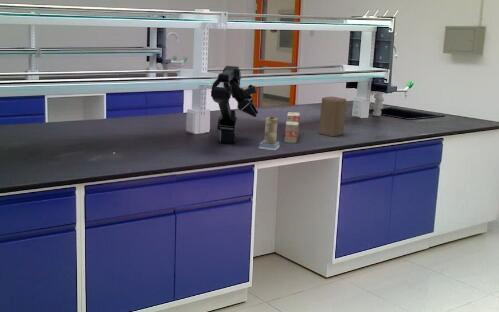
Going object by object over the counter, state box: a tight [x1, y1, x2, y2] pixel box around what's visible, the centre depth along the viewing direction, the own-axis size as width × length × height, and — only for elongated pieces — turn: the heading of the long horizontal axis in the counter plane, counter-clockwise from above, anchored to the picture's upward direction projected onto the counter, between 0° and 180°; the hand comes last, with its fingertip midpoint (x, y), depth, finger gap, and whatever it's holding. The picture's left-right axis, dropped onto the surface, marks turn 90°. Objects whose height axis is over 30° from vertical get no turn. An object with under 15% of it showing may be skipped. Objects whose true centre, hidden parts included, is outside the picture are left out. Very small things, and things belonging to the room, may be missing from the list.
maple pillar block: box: [263, 115, 279, 145], centre depth 265 cm, size 4×4×14 cm
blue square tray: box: [258, 140, 280, 151], centre depth 266 cm, size 8×8×2 cm
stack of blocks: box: [283, 111, 301, 144], centre depth 289 cm, size 21×6×12 cm, turn 173°
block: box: [318, 96, 347, 138], centre depth 304 cm, size 10×10×20 cm
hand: (256, 114), depth 273 cm, fingers open, 9 cm apart
